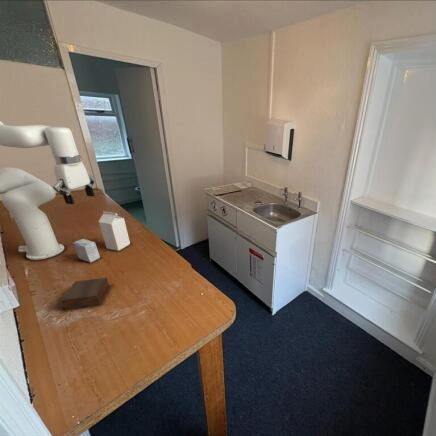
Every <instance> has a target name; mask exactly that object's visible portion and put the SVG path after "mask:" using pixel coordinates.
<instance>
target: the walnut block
mask: <svg viewBox="0 0 436 436" xmlns="http://www.w3.org/2000/svg"><path fill="white" fill-rule="evenodd" d="M109 289H110V283H109V281H108V278H107V277H101V278H91V279H84V280H83V279H82V280H76V281H74V283H73V284H72V285H71V286H70V287H69V288H68V290H67V292H66V293H65V294H64V295H63V297H62V298H61V300H60V302H61V304H62V306H63V308H64V310H65V311H67V310H75V309H82V308H89V307H94V306H100V305H101V303H102V301H103V299H104V298H105V296H106V294H107V292H108V291H109Z"/></svg>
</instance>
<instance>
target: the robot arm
mask: <svg viewBox="0 0 436 436" xmlns="http://www.w3.org/2000/svg"><path fill="white" fill-rule="evenodd" d="M0 146H1V147H8V148H18V149H33V148H38V147H45V146H49V148H50V150H51V154H52V157H53V159H54V162H55V164H54V165H53V166H54V168H53V170H54V174H55V180H56V183H54V185H53V186H51V185H50V184H49V183H47V182H45V181H44V180H42V179H40V178H38V177H36V176H34V175H32V174H31V173H29V172H27V171H25V170H23V169H21V168H17V167H14V166H13V167H12V166H8V167H1V168H0V195H2V196H1V203H2V205H3V207H5V209H6V210H7V211H8V212H9V214H10V215H11V216H12V218H13V219H14V222H15V224H16V226H17V228H18V230H19V232H20V234H21V236H22V238H23V240H24V243H25V245H19V246H18V252H19V253H24V252H25V253H26V254H25V256H26V258H27V259H28V260H31V261H39V260H45V259H49V258H53V257H54V256H57V255H59V254H61V253H62V252H63V251H65V246H64V244H62V243H59V242H58V240H57V238H56V235H55V233H54V230H53V227H52V225H51V223H50V220H49V218H48V216H47V214H46V212H44V211H42V209H40V208H39V207H40V206H42V205H45V204H47V203H49V202H51V201H53V200H54V199H55V198H56V193H57V194H59V195H61V196H63V199H64V202H65V204H66V205H74V204H75V200H74V198H73V195H72V194H71V192H72V190H75V189H79V188H82V187H84V191H85V194H86V196H87V197H95V196H96V195H95V192H94V189H93V188H94V184H95V176H94V175H91V174H88V171H87V168H86V167H85V165H84V162H83V161H81V158H82V155H80V154H79V151H78V149H77V144H76V142H75V139H74V135H73V132H72V130H71V128H68V127H66V126H64V127H63V126H51V125H46V124H33V125H32V124H29V125H6V124H4V123H3V122H2V121H1V120H0Z"/></svg>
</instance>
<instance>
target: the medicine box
mask: <svg viewBox="0 0 436 436" xmlns="http://www.w3.org/2000/svg"><path fill="white" fill-rule="evenodd" d="M72 245H73V248H74V250H75V253H76V255H77V258H78V259H79V260H82V261H85V262H87V263H93V262H95V261H96V260H99V259H101V256H100V253H99V250H98V248H97V245H96V242H95V241H92V240H88V239H86V238H82V239H78V240H76V241H74V242H72Z"/></svg>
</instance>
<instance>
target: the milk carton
mask: <svg viewBox="0 0 436 436" xmlns="http://www.w3.org/2000/svg"><path fill="white" fill-rule="evenodd" d="M102 213H103V214H102V215H101V217H100V218H99V220H98V225H99V228H100V232H101V235H102V238H103V243H104V244H105V248H106V249H107V250H113V251H117V252H119V251H121V250H123V249H124V248H127V247H128V246H130V245H131V241H130V237H129V234H128V229H127V225H126V221H125V218H124V217H122V216H119V215H118V213H116V212H111V211H106V210H103V211H102Z"/></svg>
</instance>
